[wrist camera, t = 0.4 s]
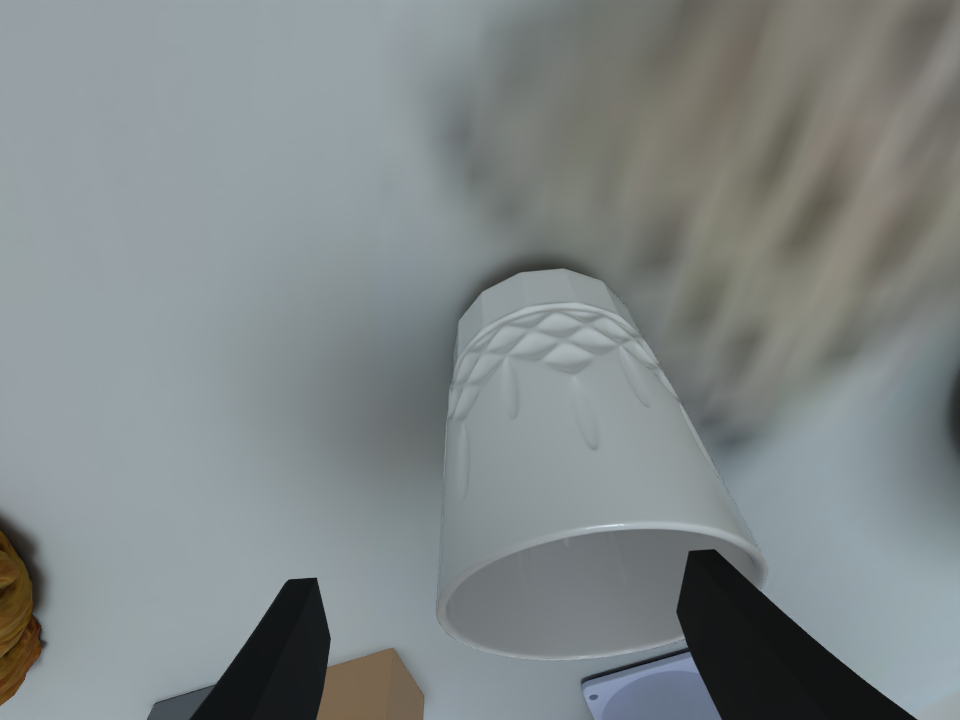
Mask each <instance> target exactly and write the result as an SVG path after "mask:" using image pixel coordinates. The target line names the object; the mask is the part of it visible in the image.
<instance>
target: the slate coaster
mask: <svg viewBox="0 0 960 720" xmlns="http://www.w3.org/2000/svg"><path fill="white" fill-rule="evenodd" d="M214 686H215V685H214ZM214 686H211V687H208V688H205V689H201V690H198V691H195V692H192V693H188V694H185V695H182V696H178V697H175V698H172V699H169V700H165V701H162V702H159V703H155V704H154V706H153V708H152V710H151V712H150V714H149V716H148V718H147V720H189V719H190V718H191V716H192V715H193V714H194V712H195V711H196V710H197V708H198V707H199V706H200V705H201V703H202V702H203V701H204V699H205V698H206V697H207V696H208V694H209V693H210V692H211V690H212V689H213V688H214Z"/></svg>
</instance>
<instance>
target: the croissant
mask: <svg viewBox="0 0 960 720" xmlns="http://www.w3.org/2000/svg"><path fill="white" fill-rule="evenodd" d="M32 610H33V595H32V582H31V580H30V579H29V574H28V572H27V570H26V567H25V564H24V562H23V561H22V560H21V559H20V558H19V557H18V555H17V553H16V551H15V550H14V548H13V546H12V545H11V543H10V541H9V540H8V538H7V536H6V535H5V534H4V533H3V532H2V531H1V530H0V706H1V705H2V704H3V703H5V702H6V701H7V700H9V699H10V698H11V697H12V696H14V695H15V693H16V692H17V690H18V689H19V687H20V686H21V684H22V683H23V681H24V680H25V676H26V673H27V672H28V670H29V669H30V667H31V666H32V664H33V663H34V662H35V660H36V659H37V658H38V657H39V656H40V653H41V650H42V647H41V646H40V641H39V640H38V635H39V631H40V627H41V625H39V624H38V623H37V622H36V619H35V618H34V616H32V615H31V614H32Z"/></svg>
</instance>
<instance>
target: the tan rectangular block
mask: <svg viewBox="0 0 960 720" xmlns="http://www.w3.org/2000/svg"><path fill="white" fill-rule="evenodd" d="M423 715H424V695H423V694H422V692H421V690H420V689H419V687H418V686H417V684H416V683H415V681H414V679H413V678H412V676H411V675H410V673H409V672H408V670H407V668H406V667H405V665H404V664H403V662H402V661H401V659H400V657H399V656H398V654H397V653H396V651H395V650H394V648H391V649H387V650H384V651H381V652H377V653H374V654H371V655H368V656H364V657H361V658H358V659H354V660H351V661H348V662H344V663H341V664H338V665H334V666H331V667H328V668H327V670H326V677H325V684H324V690H323V694H322V698H321V703H320V707H319V711H318V715H317V719H316V720H423Z"/></svg>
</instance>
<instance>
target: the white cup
mask: <svg viewBox="0 0 960 720" xmlns="http://www.w3.org/2000/svg"><path fill="white" fill-rule="evenodd" d="M707 549H715V550H716V551H717V552H719V553H720V554H721V555H722V556H723V557H724V558H725V559H726V560H727V561H728V562H729V563H730V564H732V565H733V566H734V567H735V568H736V569H737V570H738V571H739V572H740V573H741V574H742V575H743V576H744V577H746V578H747V579H748V580H749V581H750V582H751V583H752V584H753V585H754V586H755V587H756V588H757V589H758V590H760V591H761V590H762V589H763V587H764V585H765V583H766V580H767V576H768V566H767V562H766V559H765V557H764V555H763V553H762V552H761V550H760V548H759V546H758V544H757V542H756V541H755V539H754V537H753V535H752V533H751V531H750V529H749V528H748V526H747V524H746V522H745V520H744V518H743V517H742V515H741V513H740V511H739V509H738V507H737V505H736V504H735V502H734V500H733V498H732V496H731V494H730V492H729V490H728V489H727V487H726V485H725V483H724V481H723V479H722V477H721V475H720V474H719V472H718V470H717V468H716V466H715V464H714V462H713V460H712V459H711V457H710V455H709V453H708V451H707V449H706V447H705V445H704V443H703V442H702V440H701V438H700V436H699V434H698V432H697V430H696V428H695V427H694V425H693V423H692V421H691V419H690V417H689V415H688V413H687V412H686V410H685V408H684V406H683V404H682V403H681V401H680V399H679V398H678V396H677V394H676V392H675V391H674V389H673V387H672V386H671V384H670V382H669V381H668V379H667V378H666V376H665V374H664V372H663V370H662V368H661V366H660V364H659V362H658V360H657V359H656V357H655V355H654V354H653V352H652V351H651V349H650V347H649V346H648V345H647V343H646V342H645V340H644V339H643V338H642V337H641V335H640V333H639V331H638V329H637V327H636V325H635V323H634V321H633V319H632V317H631V315H630V313H629V311H628V310H627V308H626V306H625V305H624V304H623V303H622V302H621V301H620V299H619V298H618V297H617V296H616V295H615V294H614V293H613V292H612V291H611V290H610V289H609V288H608V287H607V285H606V284H605V283H604V282H603V281H601V280H598V279H595V278H592V277H589V276H586V275H583V274H580V273H577V272H574V271H571V270H568V269H564V268H561V269H550V270H540V271H529V272H520V273H518V274H516V275H514V276H512V277H510V278H508V279H506V280H504V281H502V282H500V283H498V284H496V285H494V286H492V287H490V288H488V289H486V290H484V291H483V292H482V293H481V294H480V295H479V296H478V298H477V299H476V300H475V301H474V303H473V304H472V305H471V306H470V307H469V309H468V310H467V311H466V312H465V314H464V315H463V316H462V317H461V319H460V320H459V322H458V329H457V335H456V342H455V348H454V360H453V380H452V382H451V385H450V388H449V400H448V415H447V419H446V433H445V449H444V469H443V489H442V509H441V530H440V548H439V566H438V583H437V600H436V615H437V619H438V621H439V623H440V625H441V627H442V628H443V629H444V630H445V632H446V633H448V634H449V635H450V636H451V637H452V638H454V639H455V640H457V641H459V642H460V643H462V644H464V645H466V646H469V647H471V648H474V649H476V650H479V651H482V652H486V653H490V654H494V655H498V656H504V657H510V658H517V659H527V660H546V661H564V660H584V659H595V658H604V657H611V656H618V655H624V654H630V653H635V652H640V651H644V650H649V649H653V648H657V647H661V646H664V645H668V644H671V643H674V642H677V641H680V640H683V639H685V637H684V634H683V631H682V628H681V625H680V622H679V619H678V616H677V613H676V610H677V605H678V600H679V595H680V590H681V586H682V581H683V576H684V571H685V567H686V562H687V557H688V552H689V551H693V550H707Z"/></svg>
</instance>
